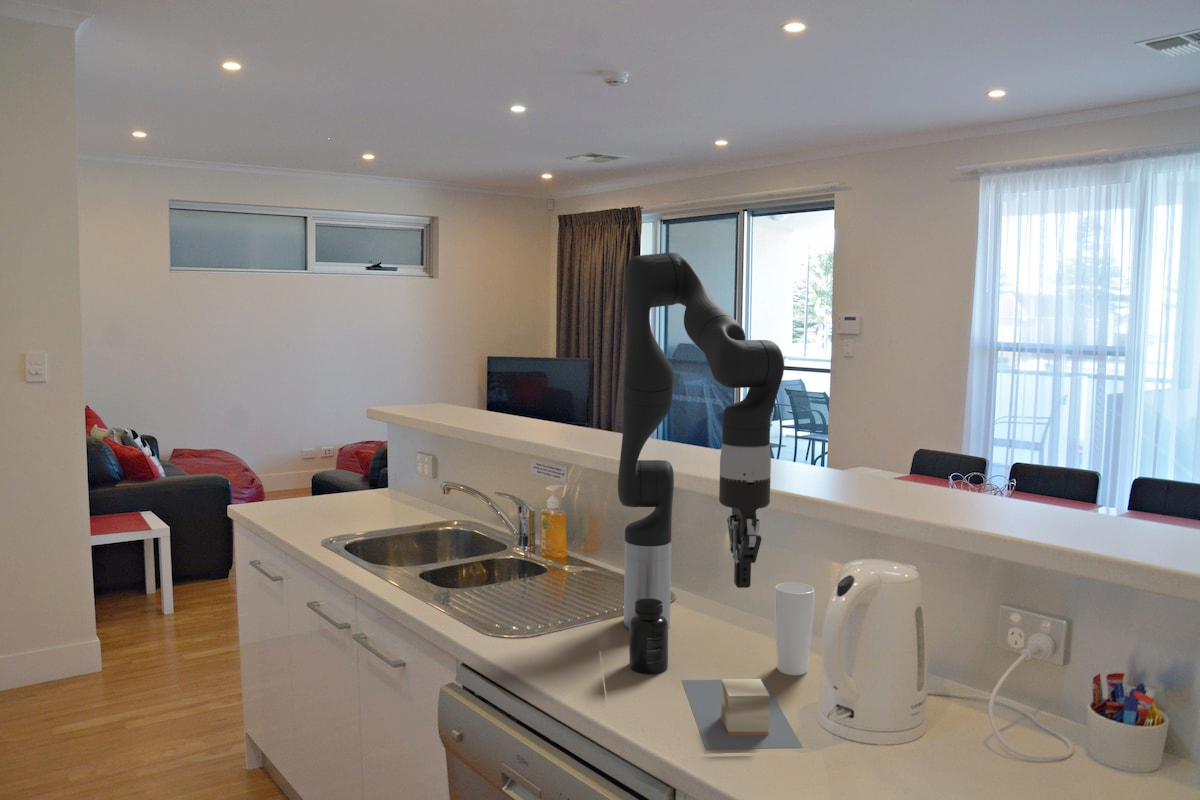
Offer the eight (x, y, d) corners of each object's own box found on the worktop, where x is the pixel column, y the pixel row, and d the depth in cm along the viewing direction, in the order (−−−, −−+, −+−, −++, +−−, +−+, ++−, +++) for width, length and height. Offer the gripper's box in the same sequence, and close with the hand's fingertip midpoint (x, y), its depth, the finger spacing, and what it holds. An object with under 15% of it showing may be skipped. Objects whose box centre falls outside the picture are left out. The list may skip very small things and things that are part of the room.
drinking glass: (765, 666, 157) (767, 584, 156) (798, 661, 159) (800, 580, 158) (786, 681, 151) (788, 595, 149) (820, 676, 153) (822, 591, 152)
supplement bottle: (671, 663, 158) (672, 598, 157) (663, 678, 152) (664, 610, 150) (633, 659, 160) (634, 594, 159) (624, 674, 153) (625, 606, 152)
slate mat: (681, 682, 150) (681, 680, 150) (763, 681, 151) (763, 679, 151) (705, 751, 126) (705, 749, 126) (802, 750, 127) (803, 747, 127)
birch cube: (729, 696, 130) (728, 735, 130) (769, 695, 130) (768, 734, 131) (721, 679, 136) (720, 717, 136) (760, 678, 136) (759, 716, 137)
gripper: (712, 465, 139) (709, 573, 141) (728, 482, 126) (726, 600, 128) (759, 465, 140) (756, 573, 142) (781, 482, 127) (777, 600, 128)
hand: (742, 586), depth 135 cm, fingers closed
